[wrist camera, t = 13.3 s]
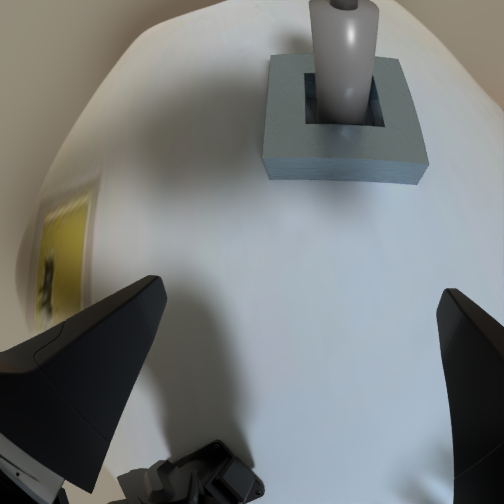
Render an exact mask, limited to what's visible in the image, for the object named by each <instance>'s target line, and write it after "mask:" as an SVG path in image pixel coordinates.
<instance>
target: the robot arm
mask: <svg viewBox="0 0 504 504" xmlns="http://www.w3.org/2000/svg"><path fill="white" fill-rule="evenodd" d="M166 303H167V294H166V291H165V288H164V285H163V281H162V279H161V277H160V276H155V275H148V276H146V277H144V278H142V279H140V280H138V281H136V282H135V283H133V284H131V285H129V286H127V287H125V288H123V289H122V290H120V291H118V292H116V293H114V294H112V295H110V296H109V297H107V298H105V299H103V300H101V301H99V302H97V303H96V304H94V305H92V306H90V307H88V308H87V309H85V310H83V311H81V312H79V313H77V314H76V315H74V316H72V317H70V318H68V319H67V320H66V321H63V322H61V323H59V324H58V325H56V326H54V327H52V328H50V329H49V330H47V331H45V332H43V333H41V334H39V335H37V336H35V337H33V338H31V339H29V340H27V341H25V342H23V343H21V344H18V345H17V346H14V347H12V348H10V349H8V350H6V351H3V352H0V504H69V502H68V499H67V496H66V492H65V489H64V488H62V485H63V483H64V481H65V480H67V481H69V482H70V483H72V484H74V485H75V486H77V487H79V488H81V489H83V490H85V491H86V492H88V493H90V494H92V492H93V489H94V487H95V484H96V481H97V478H98V475H99V472H100V470H101V467H102V464H103V462H104V459H105V456H106V454H107V451H108V448H109V446H110V443H111V440H112V438H113V435H114V433H115V430H116V428H117V425H118V422H119V420H120V418H121V415H122V413H123V410H124V408H125V405H126V403H127V400H128V398H129V396H130V393H131V391H132V389H133V386H134V384H135V382H136V379H137V377H138V375H139V372H140V370H141V368H142V365H143V363H144V361H145V359H146V356H147V354H148V352H149V350H150V348H151V345H152V343H153V341H154V338H155V335H156V332H157V329H158V326H159V323H160V320H161V317H162V314H163V312H164V309H165V306H166ZM436 317H437V324H438V332H439V341H440V350H441V358H442V364H443V369H444V375H445V381H446V387H447V393H448V401H449V408H450V417H451V426H452V438H453V455H454V499H453V504H504V327H503V326H502V325H501V324H500V323H499V322H498V321H496V320H495V319H494V318H493V317H492V316H490V315H489V314H488V313H487V312H486V311H484V310H483V309H482V308H481V307H479V306H478V305H477V304H476V303H474V302H473V301H472V300H471V299H469V298H468V297H467V296H466V295H464V294H463V293H462V292H460V291H459V290H458V289H456V288H446V289H445V290H444V291H443V293H442V296H441V299H440V302H439V305H438V308H437V312H436ZM215 444H217V445H219V448H217V447H215ZM117 479H118V482H119V484H120V486H121V489H122V491H123V493H124V495H125V497H126V499H123V500H118V501H112V502H109V503H108V504H246V503H248V502H251V501H253V500H255V499H257V498H259V497H262V496H263V495H264V493H265V489H264V488H263V487H262V486H261V485H260V484H259V483H258V482H257V481H256V480H255V476H254V475H253V474H252V473H251V472H250V471H249V470H248V469H247V467H246V466H245V465H244V464H243V463H242V462H241V461H240V460H239V459H238V457H235V456H233V454H232V453H231V452H230V451H229V450H228V449H227V447H226V446H225V445H224V444H223V443H222V442H221V441H219V440H215V441H213V442H211V443H209V444H207V445H206V446H204V447H202V448H200V449H198V450H196V451H194V452H193V453H191V454H189V455H187V456H185V457H183V458H181V459H179V460H177V461H175V462H173V463H170V462H169V461H168V460H159V461H158V462H156V463H155V464H154V465H152V466H151V467H150V468H149V469H146V468H139V469H134V470H131V471H130V472H128V473H126V474H123V475H120V476H118V477H117ZM257 490H258V491H261V493H258V492H256V491H257Z"/></svg>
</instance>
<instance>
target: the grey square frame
mask: <svg viewBox="0 0 504 504" xmlns="http://www.w3.org/2000/svg"><path fill="white" fill-rule="evenodd" d="M306 97H316V82H315V66H314V54H282V55H271V58H270V70H269V82H268V94H267V106H266V118H265V130H264V142H263V154H262V159H263V162H264V165H265V168H266V171H267V174H268V177H269V179H310V180H347V181H369V182H386V183H400V184H413V185H417V184H418V182H419V181H420V179H421V177H422V176H423V174H424V172H425V171H426V169H427V167H428V166H429V161H428V157H427V152H426V148H425V143H424V139H423V135H422V131H421V127H420V124H419V120H418V117H417V113H416V110H415V106H414V103H413V100H412V97H411V94H410V91H409V88H408V85H407V82H406V79H405V76H404V73H403V71H402V68H401V65H400V63H399V60H398V59H393V58H385V57H375V58H374V66H373V73H372V81H371V87H370V94H369V100H370V104H371V109H372V114H373V120H374V125H375V126H360V125H337V124H307V98H306Z"/></svg>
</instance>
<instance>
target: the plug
mask: <svg viewBox="0 0 504 504" xmlns="http://www.w3.org/2000/svg"><path fill="white" fill-rule="evenodd" d="M309 10H310V19H311V29H312V40H313V52H314V66H315V82H316V101H317V123H318V124H337V125H360V126H364V124H365V118H366V112H367V106H368V100H369V94H370V87H371V81H372V73H373V66H374V58H375V50H376V41H377V31H378V20H379V8H378V7H377V6H376V4H374V3H373V2H372V1H370V0H310V1H309Z"/></svg>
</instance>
